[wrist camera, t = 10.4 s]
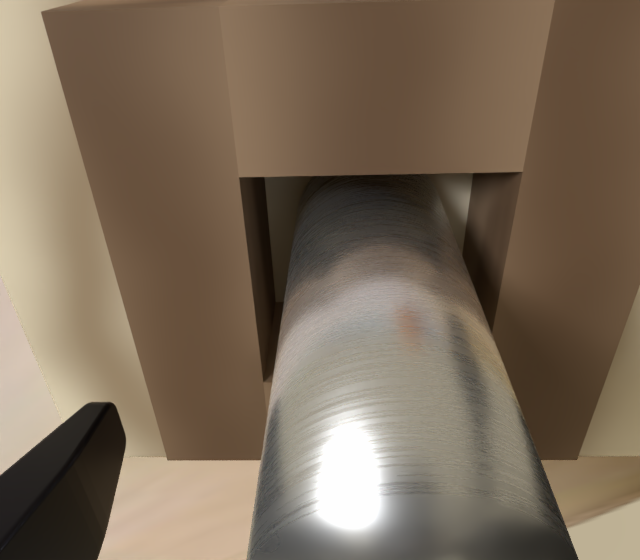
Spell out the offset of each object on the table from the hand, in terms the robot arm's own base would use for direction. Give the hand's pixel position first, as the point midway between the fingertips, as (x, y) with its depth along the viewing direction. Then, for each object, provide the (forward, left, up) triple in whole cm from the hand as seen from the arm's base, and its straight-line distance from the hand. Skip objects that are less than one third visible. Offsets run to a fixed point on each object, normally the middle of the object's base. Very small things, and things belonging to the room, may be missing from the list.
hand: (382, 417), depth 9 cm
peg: (0, 0, -7) cm, 7 cm away
